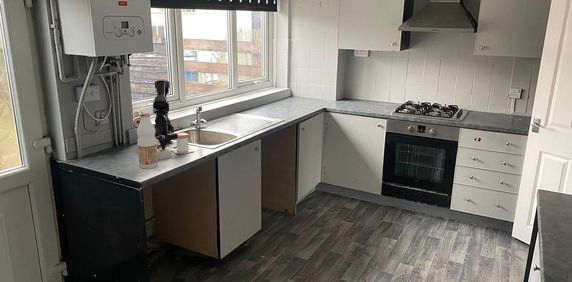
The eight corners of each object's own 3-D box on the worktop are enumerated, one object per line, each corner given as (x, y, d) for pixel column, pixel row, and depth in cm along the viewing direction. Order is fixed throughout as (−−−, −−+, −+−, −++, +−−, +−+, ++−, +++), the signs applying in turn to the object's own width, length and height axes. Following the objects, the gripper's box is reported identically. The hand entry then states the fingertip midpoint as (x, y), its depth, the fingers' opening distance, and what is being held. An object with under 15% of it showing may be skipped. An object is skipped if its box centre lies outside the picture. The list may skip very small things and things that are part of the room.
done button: (158, 153, 241) (158, 149, 240) (166, 152, 243) (165, 147, 242) (161, 155, 237) (161, 150, 237) (168, 153, 240) (168, 149, 239)
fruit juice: (137, 169, 220) (132, 115, 213) (142, 163, 229) (138, 112, 222) (155, 169, 220) (151, 115, 213) (160, 163, 229) (156, 112, 222)
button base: (155, 156, 241) (155, 149, 240) (167, 154, 245) (167, 147, 244) (160, 159, 236) (159, 152, 235) (172, 157, 240) (171, 150, 239)
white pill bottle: (176, 150, 250) (175, 133, 248) (185, 148, 253) (184, 132, 251) (180, 152, 246) (179, 135, 244) (188, 151, 249) (188, 134, 247)
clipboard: (169, 150, 254) (169, 147, 253) (185, 147, 259) (185, 144, 259) (177, 155, 244) (177, 152, 244) (193, 152, 250) (193, 149, 249)
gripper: (138, 122, 234) (140, 149, 238) (161, 127, 224) (163, 155, 228) (155, 118, 243) (156, 145, 247) (177, 123, 233) (179, 151, 237)
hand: (163, 149), depth 240 cm, fingers closed, pressing on done button
